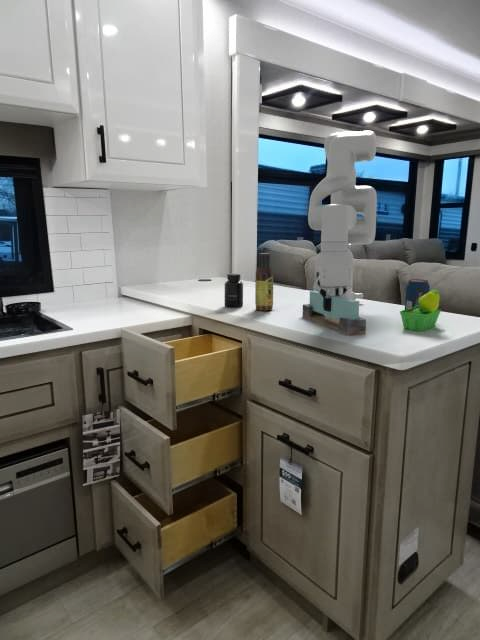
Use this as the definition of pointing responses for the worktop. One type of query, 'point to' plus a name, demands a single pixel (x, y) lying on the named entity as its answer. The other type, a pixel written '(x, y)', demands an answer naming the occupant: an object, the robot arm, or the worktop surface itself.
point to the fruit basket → (422, 313)
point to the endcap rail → (336, 322)
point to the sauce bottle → (264, 284)
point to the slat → (335, 306)
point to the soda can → (415, 292)
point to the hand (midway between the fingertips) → (331, 310)
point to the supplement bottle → (233, 291)
